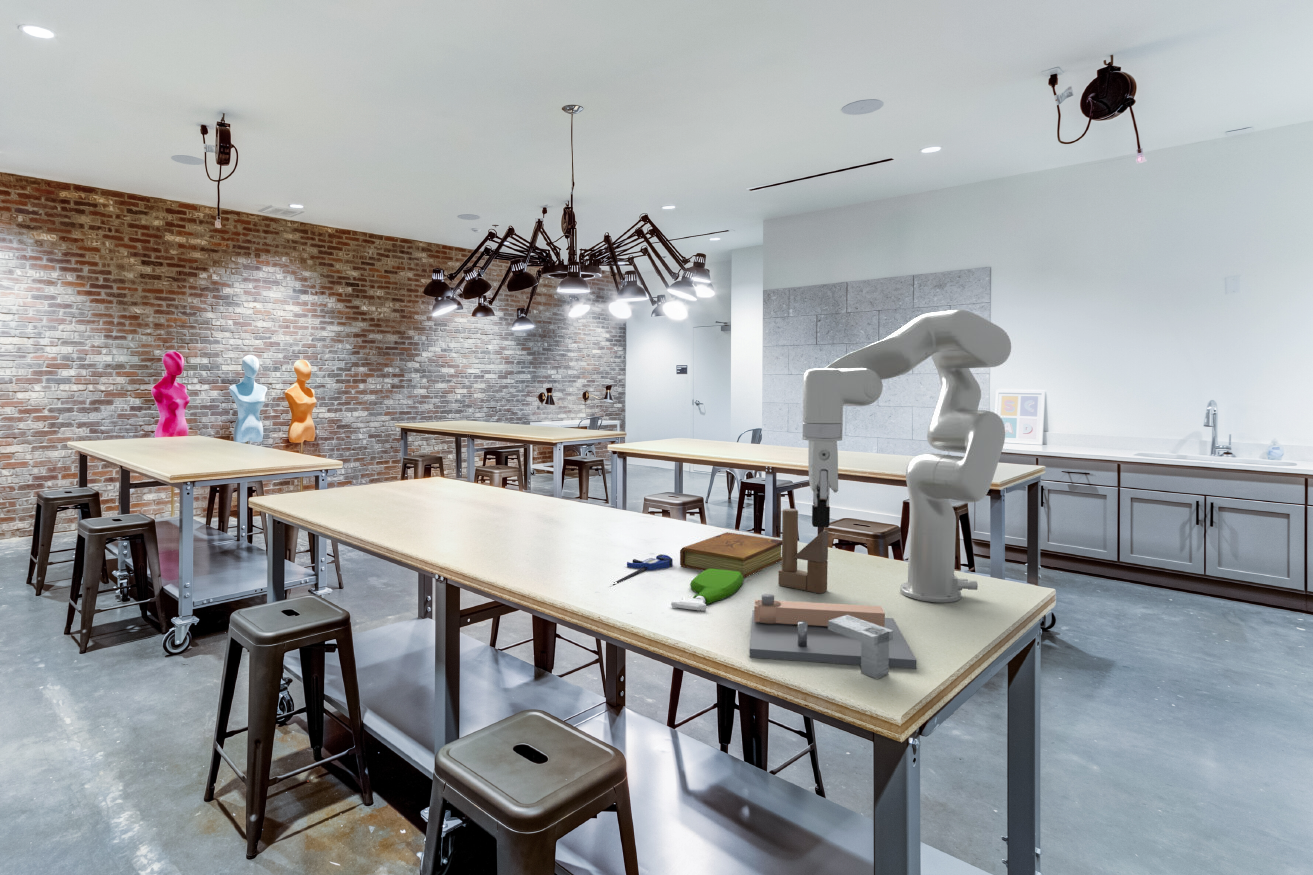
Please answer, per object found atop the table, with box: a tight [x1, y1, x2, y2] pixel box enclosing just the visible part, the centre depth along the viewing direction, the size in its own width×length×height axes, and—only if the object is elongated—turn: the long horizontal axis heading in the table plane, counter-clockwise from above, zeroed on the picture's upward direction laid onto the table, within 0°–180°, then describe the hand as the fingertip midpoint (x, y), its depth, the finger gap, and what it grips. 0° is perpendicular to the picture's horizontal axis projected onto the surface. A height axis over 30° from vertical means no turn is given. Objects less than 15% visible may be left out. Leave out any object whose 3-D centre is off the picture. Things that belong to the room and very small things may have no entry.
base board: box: [749, 609, 918, 670], centre depth 118 cm, size 27×20×2 cm
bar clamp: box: [613, 554, 674, 586], centre depth 160 cm, size 32×2×10 cm
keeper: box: [798, 615, 893, 680], centre depth 108 cm, size 14×7×7 cm, turn 35°
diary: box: [679, 532, 782, 579], centre depth 172 cm, size 23×19×6 cm
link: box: [753, 593, 886, 627], centre depth 122 cm, size 24×5×4 cm, turn 80°
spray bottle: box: [670, 569, 745, 612], centre depth 145 cm, size 3×11×24 cm
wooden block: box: [777, 508, 829, 595], centre depth 149 cm, size 4×11×18 cm, turn 52°
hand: (820, 525), depth 126 cm, fingers closed
